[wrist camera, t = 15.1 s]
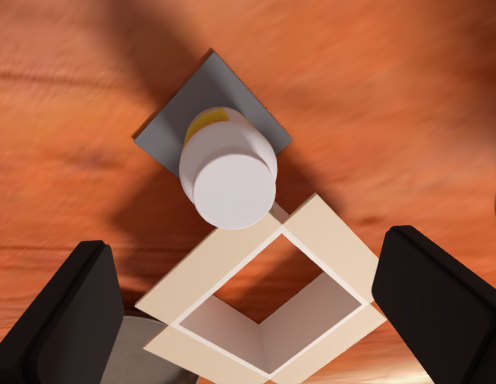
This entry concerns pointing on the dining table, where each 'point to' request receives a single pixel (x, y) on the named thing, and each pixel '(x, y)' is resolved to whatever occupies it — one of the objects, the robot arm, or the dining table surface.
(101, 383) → the plant saucer
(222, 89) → the coaster mat
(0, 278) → the dining table surface
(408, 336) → the robot arm
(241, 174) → the supplement bottle
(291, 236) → the carton
